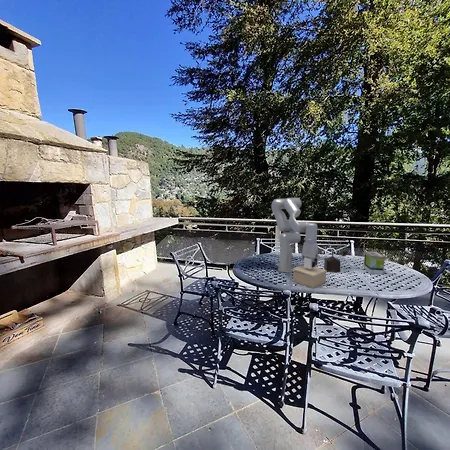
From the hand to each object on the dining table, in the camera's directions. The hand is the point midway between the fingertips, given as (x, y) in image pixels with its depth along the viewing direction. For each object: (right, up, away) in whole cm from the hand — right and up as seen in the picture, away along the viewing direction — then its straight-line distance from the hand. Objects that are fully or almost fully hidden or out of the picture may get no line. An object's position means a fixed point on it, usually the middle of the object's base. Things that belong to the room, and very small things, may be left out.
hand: (309, 265), depth 176 cm
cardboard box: (0, -12, +2) cm, 12 cm away
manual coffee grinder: (+30, -9, +28) cm, 42 cm away
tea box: (+60, -9, +25) cm, 65 cm away
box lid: (0, -4, +1) cm, 4 cm away
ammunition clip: (+16, -6, +44) cm, 48 cm away
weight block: (0, -1, 0) cm, 1 cm away
